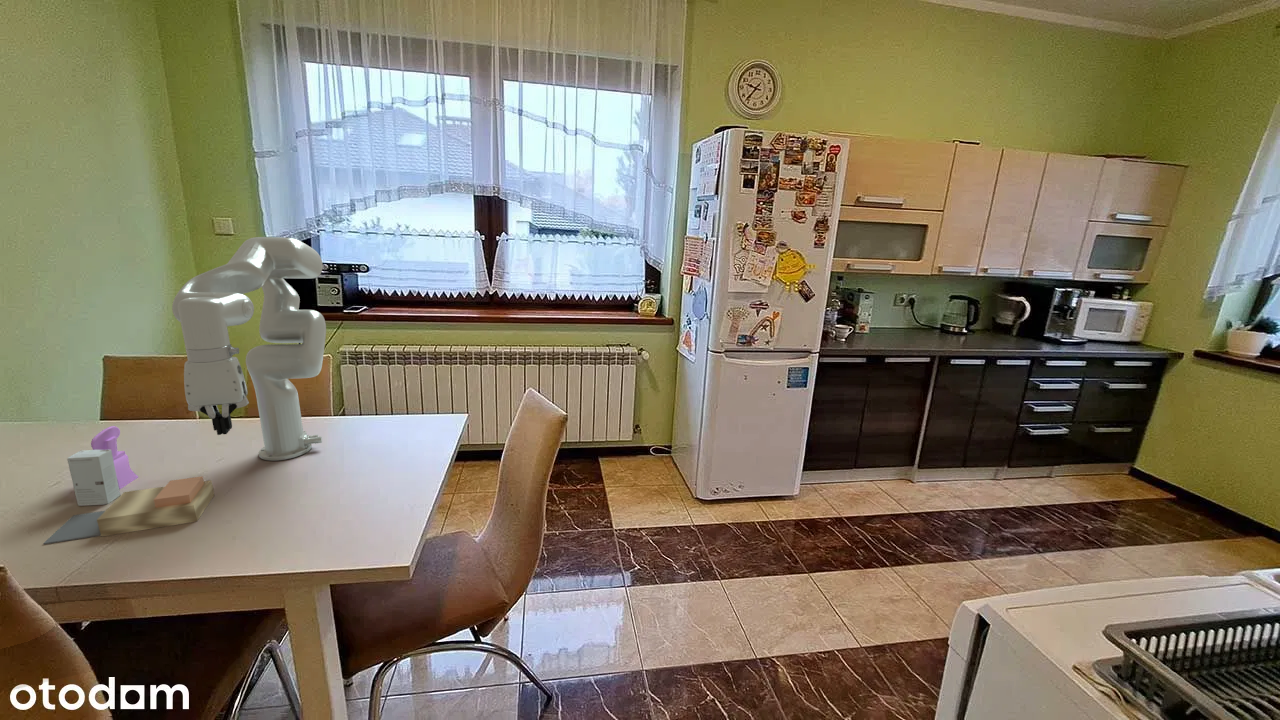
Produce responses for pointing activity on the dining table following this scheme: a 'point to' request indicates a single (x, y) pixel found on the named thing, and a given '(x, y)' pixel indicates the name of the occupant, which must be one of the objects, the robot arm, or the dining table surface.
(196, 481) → the tile
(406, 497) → the dining table surface
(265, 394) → the robot arm
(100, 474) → the skincare box
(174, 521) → the board
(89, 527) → the mat
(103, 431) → the purple flanged fixture
